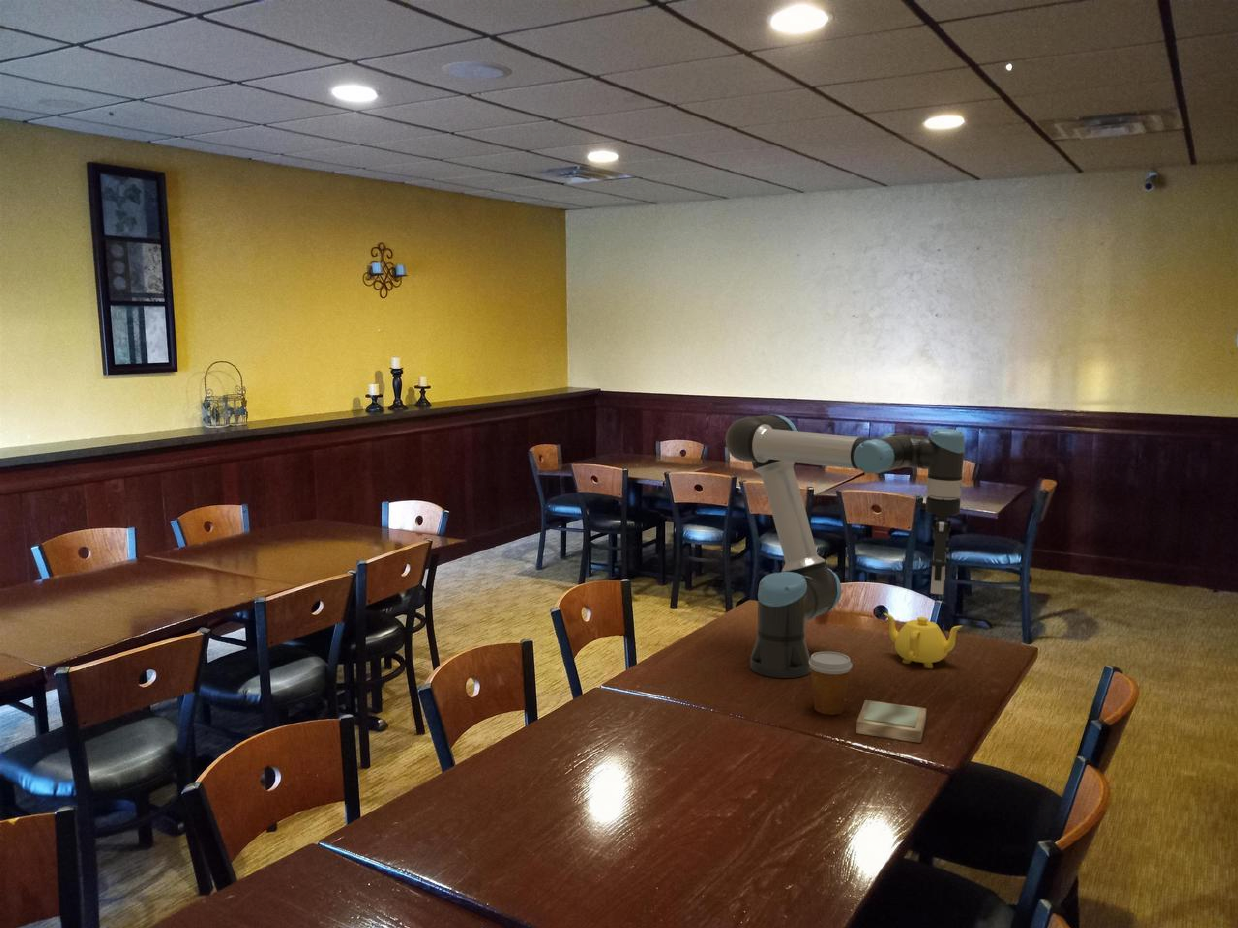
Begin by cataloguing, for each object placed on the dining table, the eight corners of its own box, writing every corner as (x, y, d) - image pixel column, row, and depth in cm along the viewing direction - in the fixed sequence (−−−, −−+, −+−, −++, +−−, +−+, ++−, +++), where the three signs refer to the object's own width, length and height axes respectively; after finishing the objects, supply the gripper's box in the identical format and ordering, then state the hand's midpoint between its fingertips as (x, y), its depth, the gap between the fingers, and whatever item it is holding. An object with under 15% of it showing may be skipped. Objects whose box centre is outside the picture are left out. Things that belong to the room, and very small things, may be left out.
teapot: (871, 662, 239) (873, 619, 238) (890, 647, 252) (891, 605, 250) (951, 678, 228) (954, 633, 227) (967, 661, 241) (969, 618, 239)
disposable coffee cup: (851, 719, 204) (853, 666, 202) (807, 716, 206) (808, 663, 204) (850, 702, 213) (851, 652, 211) (807, 699, 215) (808, 649, 213)
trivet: (856, 732, 197) (856, 720, 197) (864, 710, 209) (865, 698, 208) (920, 742, 192) (921, 729, 192) (925, 719, 204) (926, 707, 204)
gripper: (961, 507, 203) (954, 602, 206) (960, 489, 226) (954, 574, 229) (924, 504, 205) (918, 598, 209) (927, 486, 229) (922, 571, 232)
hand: (937, 585), depth 219 cm, fingers open, 13 cm apart
